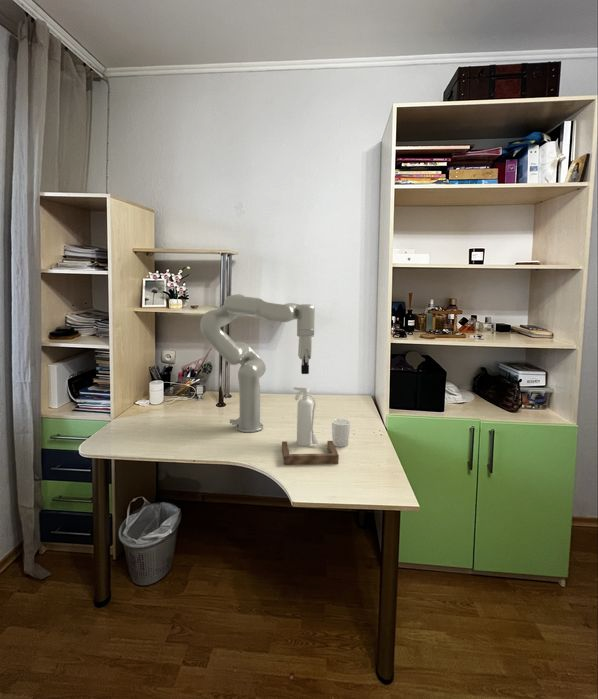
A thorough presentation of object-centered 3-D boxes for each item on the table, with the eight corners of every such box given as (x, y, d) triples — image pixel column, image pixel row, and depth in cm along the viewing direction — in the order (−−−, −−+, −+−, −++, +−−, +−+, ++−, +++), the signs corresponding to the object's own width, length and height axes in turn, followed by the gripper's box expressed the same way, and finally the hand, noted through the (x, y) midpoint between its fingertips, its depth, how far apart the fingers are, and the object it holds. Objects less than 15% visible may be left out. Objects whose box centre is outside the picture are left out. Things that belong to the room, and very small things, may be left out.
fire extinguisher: (312, 449, 190) (313, 390, 187) (290, 443, 198) (290, 386, 194) (321, 445, 196) (323, 388, 192) (299, 439, 203) (300, 383, 200)
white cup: (348, 440, 202) (349, 418, 200) (350, 447, 194) (351, 425, 192) (330, 440, 201) (331, 418, 200) (332, 447, 194) (332, 424, 192)
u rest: (284, 464, 176) (284, 456, 175) (281, 449, 190) (282, 441, 190) (338, 463, 178) (338, 455, 177) (331, 448, 192) (332, 440, 192)
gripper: (295, 330, 207) (295, 370, 211) (298, 335, 193) (298, 377, 196) (311, 330, 208) (311, 369, 211) (316, 335, 194) (315, 377, 197)
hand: (305, 373), depth 204 cm, fingers closed
